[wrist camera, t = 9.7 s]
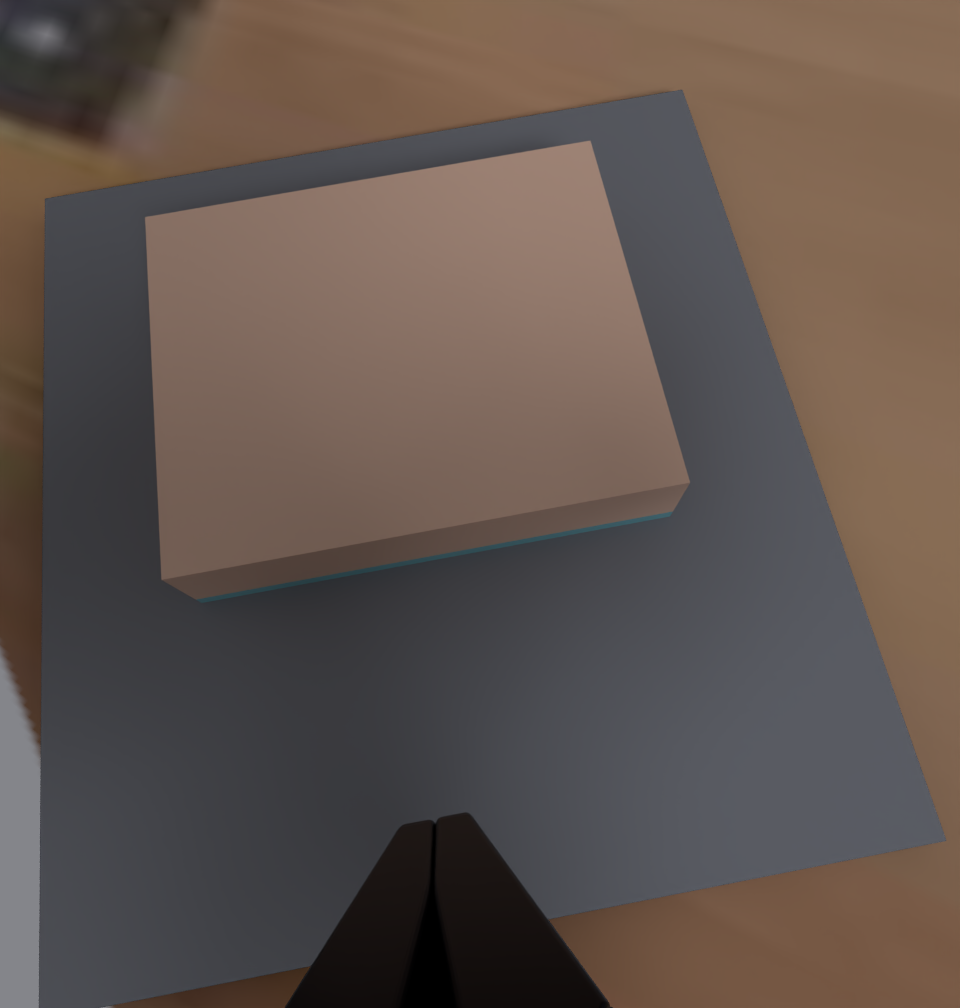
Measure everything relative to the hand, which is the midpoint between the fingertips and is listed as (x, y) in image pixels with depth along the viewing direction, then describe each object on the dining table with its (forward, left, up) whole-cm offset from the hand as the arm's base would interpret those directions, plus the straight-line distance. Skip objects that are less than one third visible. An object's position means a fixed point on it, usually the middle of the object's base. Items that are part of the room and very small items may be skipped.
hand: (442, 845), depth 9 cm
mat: (+8, +4, -10) cm, 13 cm away
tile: (+5, +3, -8) cm, 10 cm away
